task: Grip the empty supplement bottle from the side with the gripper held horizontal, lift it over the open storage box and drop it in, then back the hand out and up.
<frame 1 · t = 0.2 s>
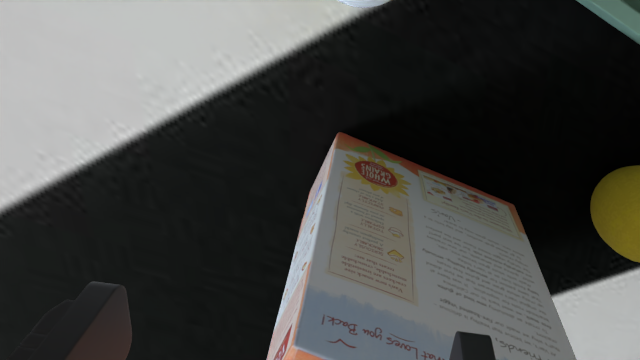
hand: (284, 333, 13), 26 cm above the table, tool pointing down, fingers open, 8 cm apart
cracker box: (410, 197, 40), on the table
lemon: (616, 182, 38), on the table
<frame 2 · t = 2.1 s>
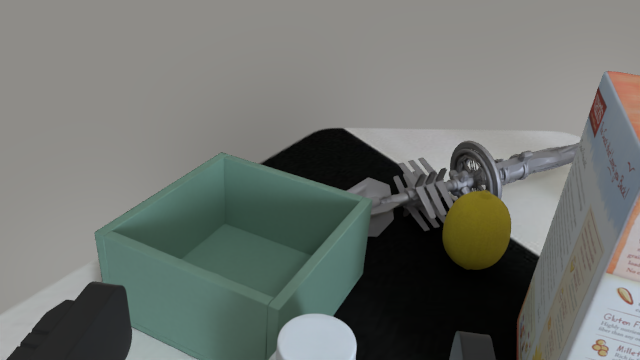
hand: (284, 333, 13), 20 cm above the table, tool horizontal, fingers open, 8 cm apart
spaceship: (467, 213, 57), on the table
open storage box: (244, 293, 44), on the table
lemon: (466, 269, 49), on the table
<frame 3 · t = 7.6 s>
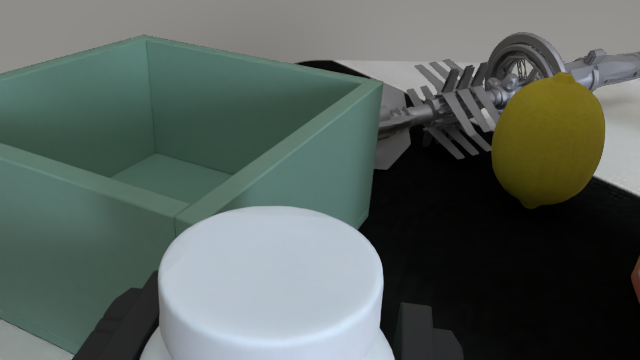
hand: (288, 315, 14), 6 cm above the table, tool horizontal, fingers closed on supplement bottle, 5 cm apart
spaceship: (512, 144, 40), on the table
open storage box: (173, 244, 26), on the table
lemon: (527, 210, 32), on the table
when the fingers open (12 cm above the table, at t = 14.3 s): supplement bottle drops 5 cm, resting on open storage box.
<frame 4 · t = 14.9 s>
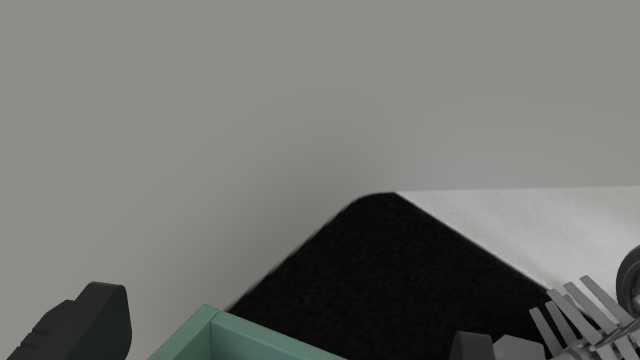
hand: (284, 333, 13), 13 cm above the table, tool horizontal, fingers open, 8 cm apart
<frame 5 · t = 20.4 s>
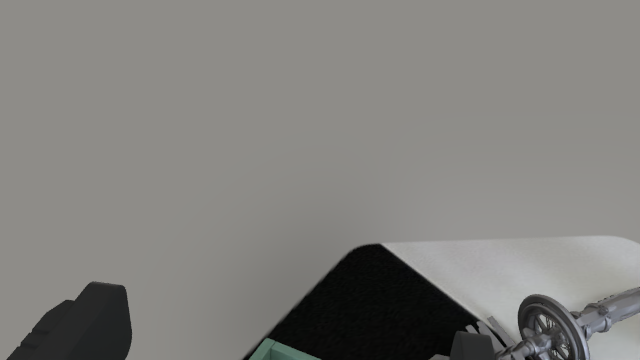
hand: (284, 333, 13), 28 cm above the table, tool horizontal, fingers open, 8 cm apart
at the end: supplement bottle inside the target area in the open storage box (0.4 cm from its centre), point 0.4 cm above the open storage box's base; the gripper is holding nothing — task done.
